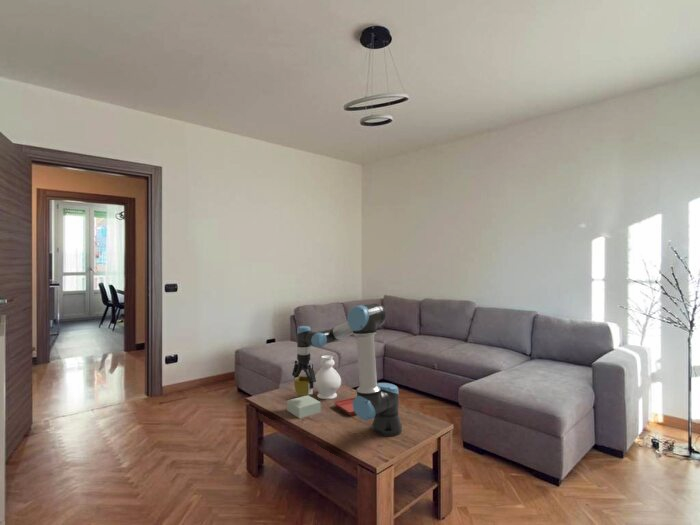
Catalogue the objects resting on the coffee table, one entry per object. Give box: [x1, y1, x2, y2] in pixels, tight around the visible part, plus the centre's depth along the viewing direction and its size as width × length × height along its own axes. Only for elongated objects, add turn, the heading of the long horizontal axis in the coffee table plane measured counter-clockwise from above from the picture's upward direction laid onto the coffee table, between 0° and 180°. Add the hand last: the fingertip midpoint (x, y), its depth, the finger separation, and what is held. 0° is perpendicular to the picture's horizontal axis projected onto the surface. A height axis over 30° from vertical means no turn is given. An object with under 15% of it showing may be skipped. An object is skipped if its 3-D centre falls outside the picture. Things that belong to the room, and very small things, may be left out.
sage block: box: [286, 395, 322, 419], centre depth 219 cm, size 14×14×6 cm
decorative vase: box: [313, 354, 342, 400], centre depth 243 cm, size 18×18×25 cm
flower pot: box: [293, 375, 309, 397], centre depth 219 cm, size 9×9×9 cm
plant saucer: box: [333, 396, 357, 416], centre depth 222 cm, size 18×18×3 cm
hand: (303, 391), depth 219 cm, fingers closed on flower pot, 12 cm apart
